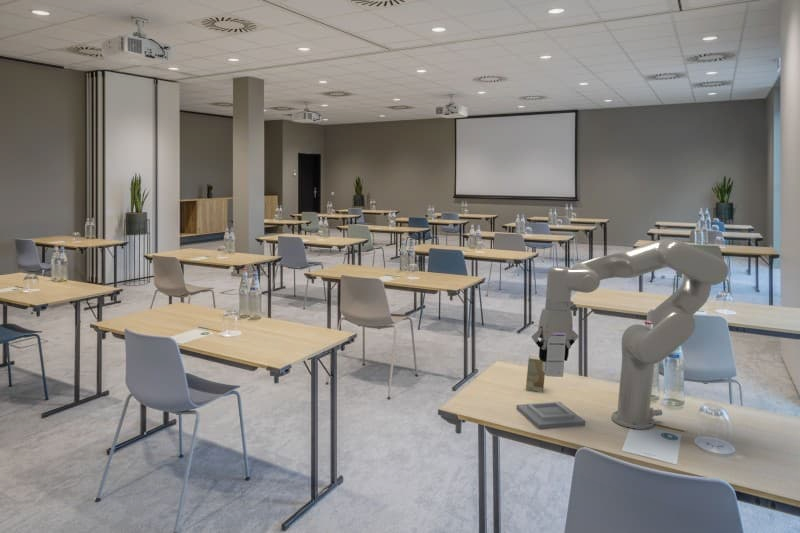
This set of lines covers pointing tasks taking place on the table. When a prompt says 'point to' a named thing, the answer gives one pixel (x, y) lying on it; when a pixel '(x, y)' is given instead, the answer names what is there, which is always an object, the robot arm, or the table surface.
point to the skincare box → (535, 374)
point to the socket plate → (550, 415)
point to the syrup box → (555, 355)
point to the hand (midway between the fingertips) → (553, 359)
